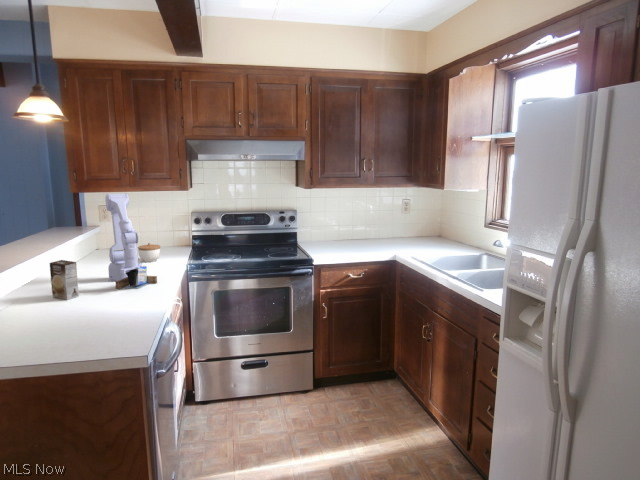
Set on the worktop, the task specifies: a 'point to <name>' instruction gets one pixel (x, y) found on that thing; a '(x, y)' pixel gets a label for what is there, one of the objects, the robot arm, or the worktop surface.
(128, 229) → the robot arm
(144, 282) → the medicine box
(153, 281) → the brown wooden block
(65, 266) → the coffee box
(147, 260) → the lidded bowl
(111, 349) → the worktop surface
